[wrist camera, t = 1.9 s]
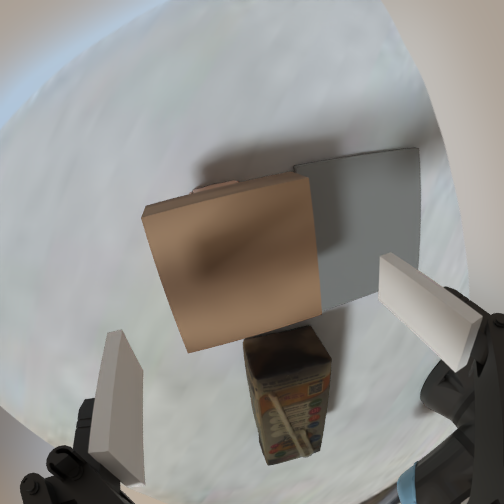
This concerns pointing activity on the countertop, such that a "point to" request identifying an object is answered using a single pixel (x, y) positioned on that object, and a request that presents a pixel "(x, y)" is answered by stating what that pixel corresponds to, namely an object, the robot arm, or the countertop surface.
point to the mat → (363, 218)
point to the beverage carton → (288, 392)
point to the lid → (237, 258)
